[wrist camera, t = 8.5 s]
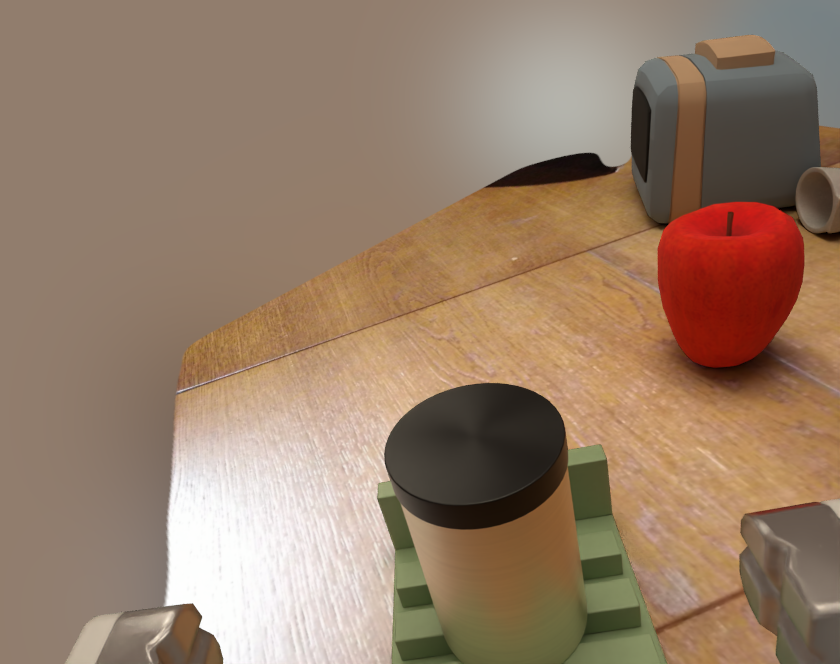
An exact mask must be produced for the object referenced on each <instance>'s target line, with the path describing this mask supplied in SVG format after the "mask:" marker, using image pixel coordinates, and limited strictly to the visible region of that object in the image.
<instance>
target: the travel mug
mask: <svg viewBox="0 0 840 664" xmlns="http://www.w3.org/2000/svg"><path fill="white" fill-rule="evenodd" d="M384 456H385V465H386V469H387V472H388V475H389V478H390V481H391V484H392V487H393V490H394V493H395V495H396V497H397V499H398V500H399V501H400V503H401V506H402V509H403V512H404V515H405V518H406V521H407V524H408V528H409V531H410V534H411V537H412V540H413V543H414V546H415V549H416V552H417V555H418V558H419V561H420V564H421V567H422V570H423V573H424V576H425V579H426V583H427V586H428V589H429V592H430V595H431V598H432V601H433V604H434V607H435V610H436V613H437V616H438V619H439V622H440V625H441V628H442V631H443V634H444V637H445V639H446V642H447V644H448V646H449V647H450V649H451V651H452V652H453V653H454V654H455V656H456V657H457V658H458V659H459V660H460V661H461V662H462V663H464V664H562V663H563V662H564V661H565V660H566V659H567V658H569V656H570V655H571V654H572V653H573V652H574V650H575V649H576V648H577V646H578V644H579V643H580V641H581V639H582V636H583V634H584V631H585V628H586V624H587V602H586V594H585V587H584V580H583V573H582V566H581V559H580V552H579V545H578V537H577V530H576V523H575V516H574V509H573V502H572V495H571V488H570V480H569V473H568V446H567V439H566V432H565V426H564V422H563V420H562V417H561V415H560V413H559V412H558V411H557V409H556V408H555V407H554V406H553V405H552V404H551V403H550V402H549V401H548V400H547V399H546V398H544V397H543V396H541V395H539V394H537V393H536V392H534V391H531V390H529V389H526V388H522V387H519V386H515V385H509V384H500V383H482V384H473V385H466V386H462V387H457V388H453V389H450V390H447V391H444V392H442V393H439V394H437V395H434V396H432V397H430V398H428V399H426V400H425V401H423V402H421V403H420V404H418V405H417V406H415V407H414V408H412V409H411V410H410V411H409V412H408V413H406V414H405V415H404V416H403V417H402V418H401V419H400V420H399V422H398V423H397V424H396V425H395V427H394V428H393V430H392V431H391V433H390V435H389V437H388V440H387V443H386V447H385V453H384Z"/></svg>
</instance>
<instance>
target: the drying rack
mask: <svg viewBox="0 0 840 664" xmlns="http://www.w3.org/2000/svg"><path fill="white" fill-rule="evenodd" d="M568 473H569V480H570V488H571V495H572V502H573V509H574V516H575V523H576V530H577V537H578V545H579V552H580V559H581V566H582V573H583V580H584V587H585V594H586V602H587V624H586V628H585V631H584V634H583V636H582V639H581V641H580V643H579V644H578V646H577V648H576V649H575V650H574V652H573V653H572V654H571V655H570V656H569V658H567V659H566V660H565V661H564V662H563V663H562V664H667V661H666V659H665V656H664V653H663V650H662V648H661V645H660V642H659V640H658V637H657V634H656V631H655V629H654V626H653V623H652V621H651V618H650V615H649V613H648V610H647V607H646V604H645V602H644V599H643V596H642V594H641V591H640V588H639V585H638V583H637V580H636V577H635V575H634V572H633V569H632V566H631V564H630V561H629V558H628V556H627V553H626V550H625V548H624V545H623V542H622V539H621V537H620V534H619V531H618V529H617V526H616V523H615V520H614V518H613V515H612V505H611V495H610V485H609V475H608V465H607V458H606V455H605V453H604V450H603V448H602V446H601V445H600V444H599V445H593V446H588V447H582V448H576V449H571V450H568ZM377 499H378V502H379V505H380V508H381V511H382V514H383V516H384V519H385V522H386V525H387V528H388V531H389V534H390V536H391V539H392V542H393V545H394V548H395V577H394V607H393V637H392V664H464V663H462V662H461V661H460V660H459V659H458V658H457V657H456V656H455V654H454V653H453V652H452V651H451V649H450V647H449V646H448V644H447V642H446V639H445V637H444V634H443V631H442V628H441V625H440V622H439V619H438V616H437V613H436V610H435V607H434V604H433V601H432V598H431V595H430V592H429V589H428V586H427V583H426V579H425V576H424V573H423V570H422V567H421V564H420V561H419V558H418V555H417V552H416V549H415V546H414V543H413V540H412V537H411V534H410V531H409V528H408V524H407V521H406V518H405V515H404V512H403V509H402V506H401V503H400V501H399V500H398V499H397V497H396V495H395V493H394V490H393V487H392V484H391V481H388V482H382V483H379V484H378V496H377Z"/></svg>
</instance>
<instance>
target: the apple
mask: <svg viewBox="0 0 840 664" xmlns="http://www.w3.org/2000/svg"><path fill="white" fill-rule="evenodd" d="M803 272H804V243H803V237H802V235H801V233H800V231H799V229H798V227H797V225H796V223H795V221H794V219H793V217H791V216H789V215H787V214H786V213H784V212H782V211H780V210H779V209H777V208H776V207H774V206H771V205H767V204H762V203H758V202H729V203H720V204H713V205H710V206H707V207H704V208H702V209H699V210H696V211H693V212H691V213H688V214H685V215H683V216H681V217H679V218H677V219H675V220H673V221H671V222H670V223H669V225H668V226H667V227H666V228H665V229H664V230H663V233H662V236H661V240H660V243H659V246H658V284H659V290H660V295H661V300H662V305H663V309H664V311H665V314H666V316H667V319H668V322H669V324H670V327H671V329H672V332H673V335H674V337H675V339H676V341H677V343H678V345H679V346H680V348H681V349H682V350H683V352H684V353H685V355H687V356H688V357H689V358H690V359H691V360H692V361H693V362H695V363H698V364H700V365H703V366H707V367H712V368H719V367H729V366H736V365H739V364H742V363H744V362H746V361H749V360H751V359H753V358H754V357H755V356H757V355H758V354H759V353H760V352H762V351H763V350H764V349H765V347H766V346H767V345H768V344H769V343H770V342H771V340H772V339H773V338H774V336H775V335H776V333H777V332H778V331H779V329H780V328H781V326H782V325H783V323H784V322H785V321H786V319H787V317H788V316H789V314H790V312H791V310H792V308H793V306H794V304H795V302H796V300H797V298H798V294H799V291H800V288H801V285H802V282H803Z"/></svg>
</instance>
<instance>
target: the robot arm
mask: <svg viewBox="0 0 840 664" xmlns="http://www.w3.org/2000/svg"><path fill="white" fill-rule="evenodd" d="M740 533H741V535H742V537H743V538H744V540H745V542H746V544H747V545H748V546H747V547H746V549H745V550H744V551H743V552H742V553H741V554H740V575H741V580H742V584H743V588H744V592H745V594H746V597H747V599H748V602H749V604H750V607H751V609H752V611H753V613H754V615H755V617H756V619H757V620H758V622H759V624H760V625H762V626H763V627H765V628H766V629H767V630H769V631H770V632H772V633H773V634H775V635H776V636H777V645H776V656H777V658H778V660H779V662H780V664H840V499H834V500H828V501H822V502H811V503H805V504H800V505H794V506H788V507H782V508H776V509H771V510H765V511H759V512H753V513H747V514H745V515H744V516H743V518H742V520H741V532H740ZM201 619H202V616H201V614H200V613H199V612H198V610H197V609H196V607H195V606H194V604H193V603H192V604H182V605H174V606H166V607H158V608H151V609H143V610H135V611H127V612H121V613H115V614H107V615H101V616H95V617H94V618H92V619H91V620H90V621H89V622H88V623H87V624H86V625H85V626H84V628H83V630H82V631H81V634H80V636H79V637H78V639H77V641H76V643H75V645H74V647H73V649H72V651H71V653H70V655H69V657H68V658H67V660H66V662H65V664H223V657H222V653H221V649H220V645H219V643H218V642H217V640H216V638H215V637H214V635H212V634H210V633H209V632H207V631H205V630H203V629H201V628H199V625H200V622H201Z"/></svg>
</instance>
